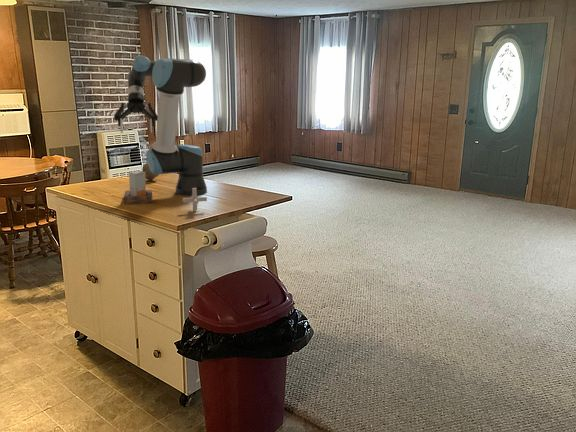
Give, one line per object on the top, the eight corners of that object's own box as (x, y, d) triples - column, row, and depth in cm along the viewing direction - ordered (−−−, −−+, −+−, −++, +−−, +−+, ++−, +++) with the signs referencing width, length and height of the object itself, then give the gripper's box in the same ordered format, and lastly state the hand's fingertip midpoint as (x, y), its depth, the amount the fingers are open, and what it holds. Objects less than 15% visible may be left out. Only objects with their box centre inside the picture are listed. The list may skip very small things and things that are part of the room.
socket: (152, 196, 239) (152, 189, 238) (151, 203, 226) (151, 196, 225) (126, 196, 236) (125, 190, 235) (123, 204, 223) (123, 197, 222)
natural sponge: (162, 179, 277) (161, 161, 274) (156, 182, 268) (155, 164, 266) (146, 178, 278) (145, 160, 275) (140, 181, 269) (138, 163, 267)
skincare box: (135, 199, 227) (134, 173, 224) (130, 198, 230) (128, 172, 226) (146, 197, 232) (145, 171, 229) (141, 195, 234) (139, 170, 231)
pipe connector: (208, 213, 211) (207, 190, 208) (184, 214, 208) (183, 191, 206) (205, 207, 220) (204, 185, 218) (182, 208, 218) (181, 186, 215)
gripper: (162, 102, 254) (163, 135, 244) (110, 101, 248) (109, 136, 239) (161, 92, 248) (163, 125, 238) (108, 91, 242) (107, 125, 232)
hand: (136, 131), depth 238 cm, fingers open, 13 cm apart
